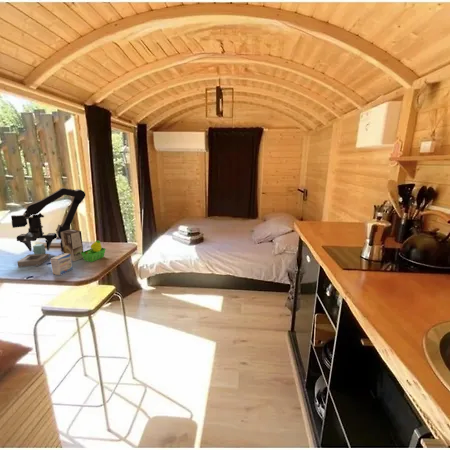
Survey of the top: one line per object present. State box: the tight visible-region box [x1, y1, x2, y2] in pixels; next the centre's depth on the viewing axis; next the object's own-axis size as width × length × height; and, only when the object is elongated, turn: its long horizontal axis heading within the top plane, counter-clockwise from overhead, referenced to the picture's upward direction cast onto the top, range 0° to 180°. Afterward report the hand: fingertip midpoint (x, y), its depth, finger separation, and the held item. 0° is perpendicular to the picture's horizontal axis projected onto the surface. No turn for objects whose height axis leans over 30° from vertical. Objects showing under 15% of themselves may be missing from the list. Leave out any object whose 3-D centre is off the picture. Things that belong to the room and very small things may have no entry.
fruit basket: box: [81, 240, 107, 263], centre depth 143 cm, size 11×9×11 cm
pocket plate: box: [17, 253, 50, 267], centre depth 138 cm, size 10×11×2 cm
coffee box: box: [60, 228, 84, 262], centre depth 143 cm, size 9×6×16 cm
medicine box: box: [50, 252, 73, 276], centre depth 126 cm, size 8×4×9 cm, turn 168°
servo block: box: [32, 243, 46, 254], centre depth 149 cm, size 4×7×6 cm, turn 12°
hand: (39, 250), depth 150 cm, fingers open, 9 cm apart
